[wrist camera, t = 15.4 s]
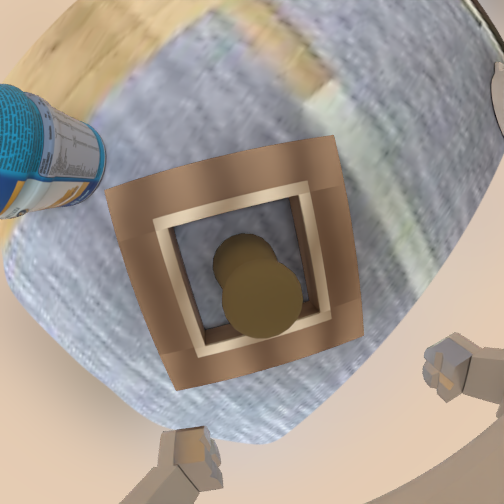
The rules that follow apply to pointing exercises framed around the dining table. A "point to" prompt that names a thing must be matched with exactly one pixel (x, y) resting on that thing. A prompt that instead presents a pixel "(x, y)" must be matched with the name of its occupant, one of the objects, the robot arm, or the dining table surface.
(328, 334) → the socket board
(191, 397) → the dining table surface
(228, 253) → the olive peg
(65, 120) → the beverage bottle
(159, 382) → the dining table surface
